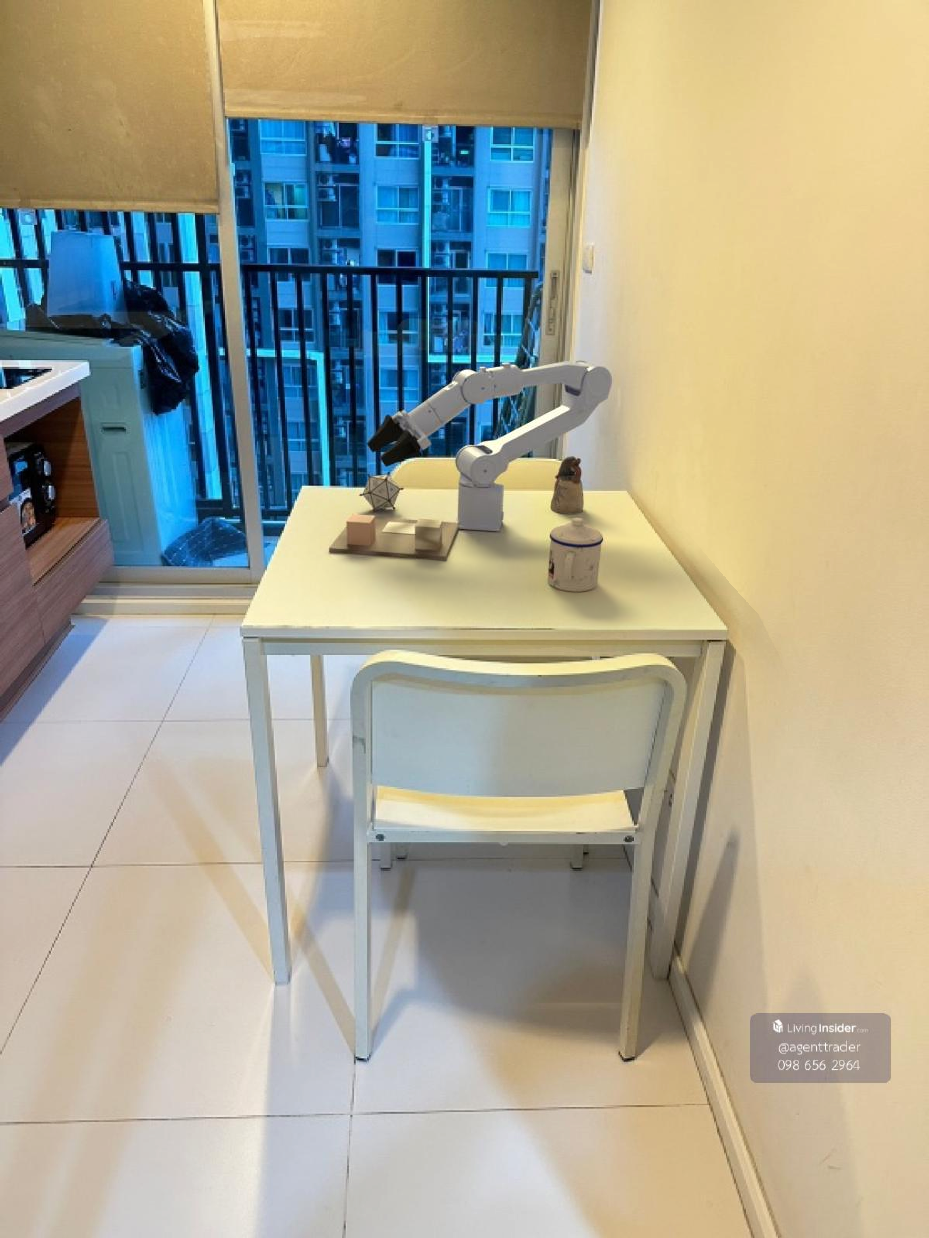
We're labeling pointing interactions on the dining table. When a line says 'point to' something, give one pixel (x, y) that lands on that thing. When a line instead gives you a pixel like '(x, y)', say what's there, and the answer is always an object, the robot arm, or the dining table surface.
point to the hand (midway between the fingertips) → (376, 455)
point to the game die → (381, 491)
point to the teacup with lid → (574, 557)
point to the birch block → (428, 534)
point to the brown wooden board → (397, 540)
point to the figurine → (568, 488)
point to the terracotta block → (361, 529)
